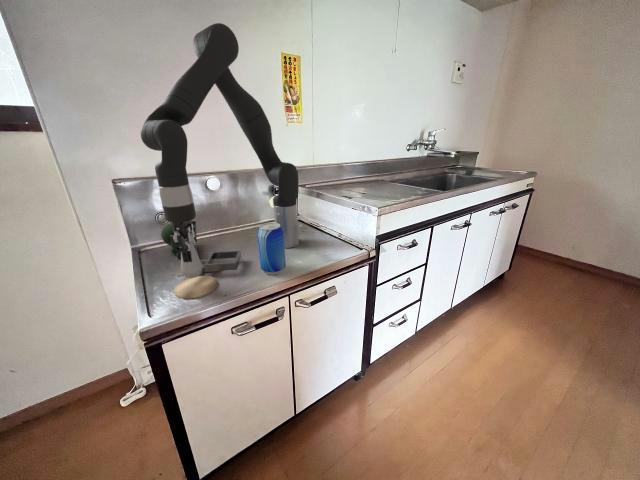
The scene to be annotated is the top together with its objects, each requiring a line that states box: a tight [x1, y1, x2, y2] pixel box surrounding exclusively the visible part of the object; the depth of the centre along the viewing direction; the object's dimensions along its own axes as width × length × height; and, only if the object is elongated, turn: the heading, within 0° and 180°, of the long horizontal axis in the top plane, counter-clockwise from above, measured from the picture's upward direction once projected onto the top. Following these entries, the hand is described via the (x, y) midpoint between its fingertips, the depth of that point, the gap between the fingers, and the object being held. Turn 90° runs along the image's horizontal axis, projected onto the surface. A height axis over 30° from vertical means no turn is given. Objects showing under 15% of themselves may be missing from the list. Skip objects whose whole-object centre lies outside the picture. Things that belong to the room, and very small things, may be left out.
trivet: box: [173, 275, 219, 300], centre depth 80 cm, size 12×12×1 cm
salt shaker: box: [180, 234, 203, 279], centre depth 76 cm, size 6×6×13 cm
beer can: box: [256, 222, 287, 276], centre depth 87 cm, size 8×8×16 cm
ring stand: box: [194, 242, 242, 276], centre depth 87 cm, size 16×10×22 cm, turn 97°
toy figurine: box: [160, 222, 199, 259], centre depth 100 cm, size 9×19×25 cm
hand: (190, 259), depth 76 cm, fingers closed on salt shaker, 3 cm apart
